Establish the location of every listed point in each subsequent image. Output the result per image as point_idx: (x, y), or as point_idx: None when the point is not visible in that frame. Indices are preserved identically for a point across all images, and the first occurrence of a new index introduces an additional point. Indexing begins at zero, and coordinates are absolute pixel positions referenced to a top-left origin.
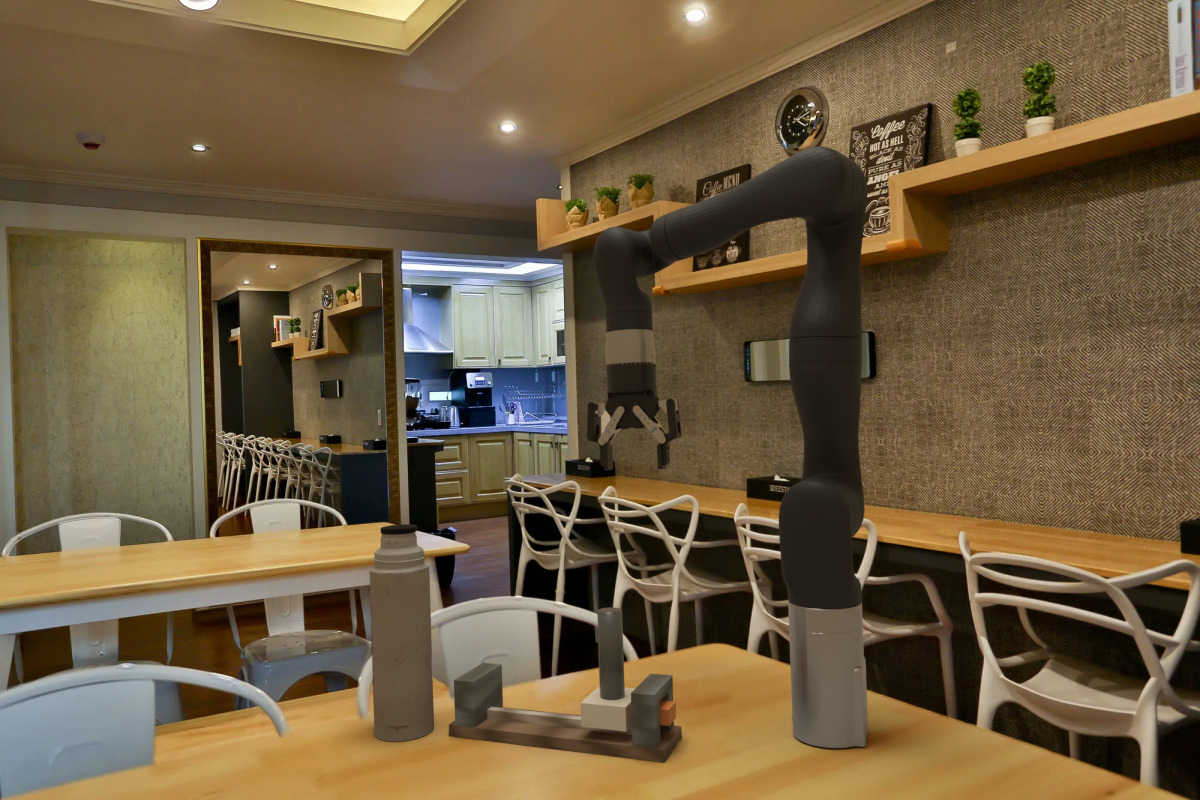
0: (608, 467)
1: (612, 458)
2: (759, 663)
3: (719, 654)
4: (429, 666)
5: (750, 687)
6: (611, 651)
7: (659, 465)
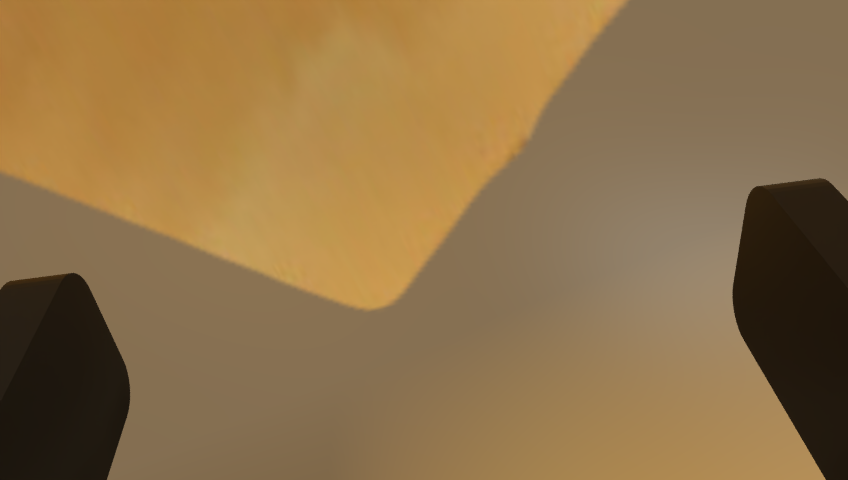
0: (762, 201)
1: (786, 401)
2: (213, 224)
3: (340, 251)
4: None
5: (134, 39)
6: None
7: (32, 293)
